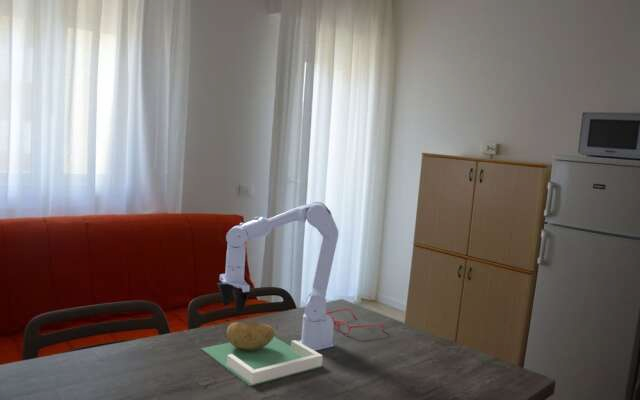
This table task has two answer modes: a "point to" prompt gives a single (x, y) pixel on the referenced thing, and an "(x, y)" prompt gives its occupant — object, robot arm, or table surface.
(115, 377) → the table surface
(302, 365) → the white angular frame
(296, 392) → the table surface
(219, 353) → the green mat
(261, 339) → the potato
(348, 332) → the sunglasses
